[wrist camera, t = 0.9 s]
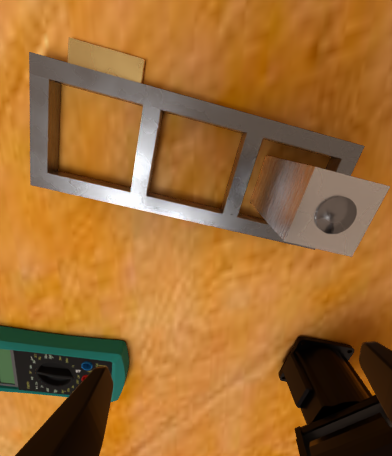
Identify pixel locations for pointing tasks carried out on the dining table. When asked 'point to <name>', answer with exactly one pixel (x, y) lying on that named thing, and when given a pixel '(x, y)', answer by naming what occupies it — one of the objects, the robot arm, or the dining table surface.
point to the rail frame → (157, 137)
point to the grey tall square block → (316, 205)
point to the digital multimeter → (57, 361)
